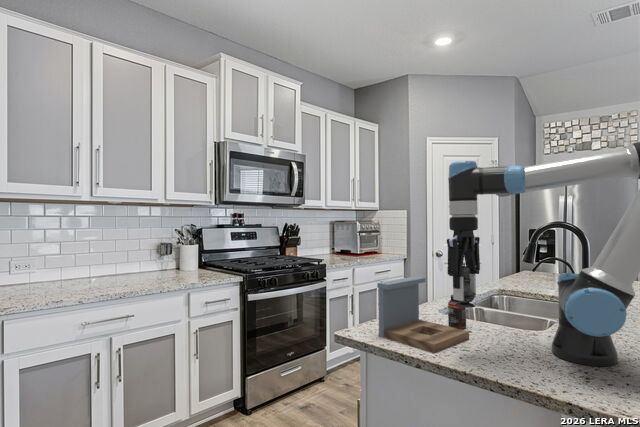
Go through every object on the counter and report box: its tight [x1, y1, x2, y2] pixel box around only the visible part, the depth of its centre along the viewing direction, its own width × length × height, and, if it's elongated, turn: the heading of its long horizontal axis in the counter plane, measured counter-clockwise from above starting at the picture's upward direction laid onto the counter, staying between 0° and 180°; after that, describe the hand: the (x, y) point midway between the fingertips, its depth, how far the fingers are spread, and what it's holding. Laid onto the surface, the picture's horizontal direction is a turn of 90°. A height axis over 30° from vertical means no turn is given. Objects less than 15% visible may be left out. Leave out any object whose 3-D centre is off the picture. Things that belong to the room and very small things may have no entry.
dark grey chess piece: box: [455, 263, 477, 309], centre depth 110 cm, size 6×6×12 cm
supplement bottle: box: [447, 294, 467, 330], centre depth 137 cm, size 6×6×11 cm
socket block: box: [383, 319, 470, 354], centre depth 125 cm, size 19×19×2 cm
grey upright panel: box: [376, 276, 426, 339], centre depth 132 cm, size 4×20×18 cm, turn 130°
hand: (464, 298), depth 110 cm, fingers closed on dark grey chess piece, 6 cm apart
